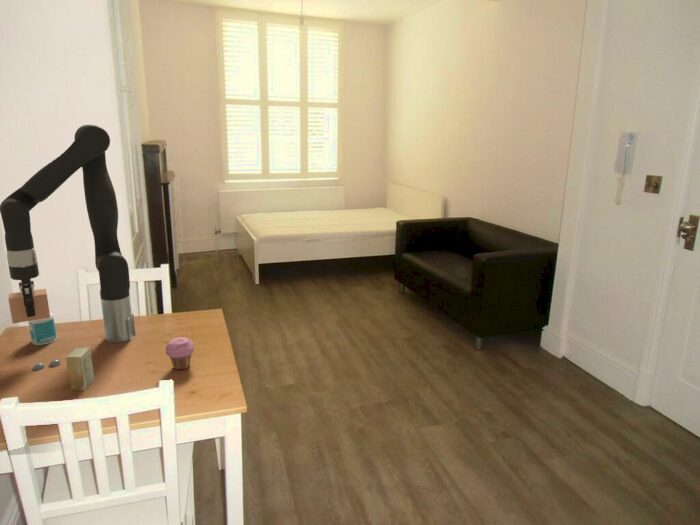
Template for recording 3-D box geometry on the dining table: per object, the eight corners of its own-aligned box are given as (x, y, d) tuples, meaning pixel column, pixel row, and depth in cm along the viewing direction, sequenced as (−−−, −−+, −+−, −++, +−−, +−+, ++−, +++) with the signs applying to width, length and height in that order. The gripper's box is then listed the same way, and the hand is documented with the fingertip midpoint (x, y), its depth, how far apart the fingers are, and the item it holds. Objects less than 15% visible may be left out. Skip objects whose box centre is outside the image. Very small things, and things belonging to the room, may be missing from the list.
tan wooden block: (49, 311, 157) (45, 288, 155) (50, 317, 153) (46, 294, 150) (12, 317, 152) (8, 293, 150) (12, 323, 147) (8, 299, 145)
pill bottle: (62, 340, 170) (56, 305, 167) (47, 349, 163) (41, 313, 160) (42, 338, 171) (37, 303, 167) (27, 347, 164) (21, 311, 160)
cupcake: (193, 372, 151) (191, 344, 148) (164, 374, 150) (162, 345, 147) (197, 359, 159) (195, 332, 157) (170, 361, 158) (168, 333, 155)
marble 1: (46, 369, 150) (45, 360, 149) (42, 374, 147) (41, 365, 147) (36, 369, 150) (35, 361, 149) (31, 374, 147) (30, 365, 146)
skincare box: (80, 383, 143) (75, 346, 139) (95, 383, 143) (90, 346, 140) (70, 395, 137) (64, 356, 133) (86, 394, 137) (80, 356, 134)
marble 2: (62, 366, 153) (61, 357, 152) (58, 370, 150) (57, 362, 149) (52, 366, 152) (51, 358, 151) (48, 371, 149) (47, 362, 148)
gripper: (8, 258, 151) (16, 307, 155) (7, 270, 140) (17, 322, 144) (36, 255, 155) (43, 303, 160) (38, 266, 144) (46, 318, 148)
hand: (31, 312), depth 152 cm, fingers closed on tan wooden block, 6 cm apart
